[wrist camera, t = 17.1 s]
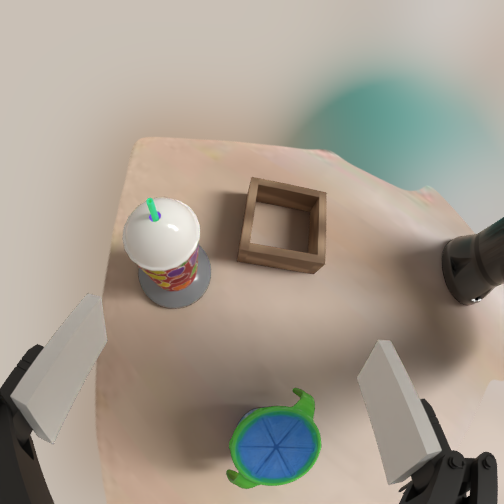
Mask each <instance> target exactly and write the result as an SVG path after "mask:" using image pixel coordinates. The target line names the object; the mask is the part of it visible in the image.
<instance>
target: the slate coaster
mask: <svg viewBox="0 0 504 504" xmlns="http://www.w3.org/2000/svg"><path fill="white" fill-rule="evenodd" d="M210 278H211V266H210V261H209V258H208V256H207V254H206V253H205V251H204V250H203V249H202V247H201V246H199V249H198V265H197V273H196V277H195V279H194V280H193V282H192V283H191V284H190V285H189V286H188V287H186V288H185V289H182V290H180V291H167V290H164V289H162V288H161V287H159V286H158V285H157V284H156V283H155V282H154V281H153V280H152V279H151V278H150V277H149V276H148V275H147V274H146V273H145V272H144V271H143V270H142V269H141V268H140V267H139V281H140V284H141V287H142V289H143V291H144V292H145V294H146V295H147V296H148V297H149V298H150V299H151V300H152V301H153V302H155V303H156V304H158V305H160V306H162V307H166V308H171V309H178V308H184V307H187V306H189V305H192V304H193V303H195V302H196V301H198V300H199V299H200V298H201V297H202V296H203V294H204V293H205V292H206V290H207V288H208V286H209V283H210Z"/></svg>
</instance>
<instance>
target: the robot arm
mask: <svg viewBox="0 0 504 504" xmlns="http://www.w3.org/2000/svg"><path fill="white" fill-rule="evenodd" d="M442 268H443V274H444V278H445V281H446V283H447V286H448V288H449V290H450V292H451V293H452V295H453V296H454V297H455V298H456V299H457V300H458V301H459V302H460V303H462V304H464V305H472V304H474V303H477V302H479V301H481V300H482V299H483V298H484V297H485V296H486V295H488V294H489V293H490V292H491V291H492V290H493V289H494V288H495V287H496V286H498V285H501V284H504V217H503V218H502V219H500V220H499V221H497V222H495V223H494V224H492V225H491V226H489V227H487V228H486V229H484V230H483V231H481V232H480V233H478V234H474V235H467V236H460V237H457V238H455V239H453V240H452V241H450V242H449V243H448V244H447V245H446V246H445V248H444V251H443V256H442ZM107 341H108V340H107V334H106V327H105V321H104V314H103V306H102V297H101V296H97V295H93V294H89V293H87V295H86V296H85V297H84V298H83V299H82V300H81V302H80V303H79V304H78V305H77V306H76V308H75V309H74V310H73V311H72V312H71V314H70V315H69V316H68V317H67V319H66V320H65V321H64V322H63V324H62V325H61V326H60V327H59V329H58V330H57V331H56V333H55V334H54V335H53V336H52V338H51V339H50V340H49V342H48V343H47V344H46V346H45V347H43V346H41V345H38V344H37V345H35V346H34V347H32V348H31V349H29V350H28V351H27V352H26V354H25V355H24V356H23V357H22V360H20V361H19V363H18V364H17V367H15V368H14V370H13V371H12V372H11V374H10V375H9V377H8V378H7V379H6V381H5V382H4V384H3V385H2V387H1V388H0V504H54V502H53V499H52V497H51V495H50V492H49V490H48V487H47V484H46V482H45V479H44V477H43V473H42V471H41V468H40V464H39V461H38V458H37V455H36V451H35V448H34V444H33V440H32V438H31V436H30V434H31V432H32V430H34V432H35V433H36V435H37V436H38V437H40V438H41V439H43V440H45V441H47V442H49V443H51V444H54V442H55V440H56V437H57V435H58V433H59V431H60V429H61V427H62V425H63V423H64V421H65V419H66V417H67V415H68V412H69V411H70V409H71V407H72V405H73V403H74V401H75V399H76V397H77V395H78V393H79V391H80V389H81V387H82V385H83V384H84V382H85V380H86V378H87V376H88V374H89V373H90V371H91V369H92V367H93V365H94V364H95V362H96V360H97V358H98V357H99V355H100V353H101V351H102V350H103V348H104V346H105V344H106V343H107ZM357 380H358V383H359V386H360V389H361V392H362V395H363V399H364V402H365V405H366V408H367V411H368V414H369V418H370V421H371V424H372V428H373V431H374V434H375V438H376V441H377V445H378V448H379V452H380V455H381V459H382V463H383V467H384V470H385V474H386V478H387V482H388V485H390V484H395V483H399V482H403V481H404V480H406V479H407V478H408V477H410V476H411V478H412V481H410V482H409V483H408V484H406V485H405V486H403V487H402V488H401V489H400V490H399V492H401V491H403V490H404V489H406V490H405V492H404V493H403V494H404V495H403V497H402V499H401V501H400V503H399V504H497V495H498V494H497V491H498V485H497V484H498V483H497V463H496V459H495V457H494V456H493V455H492V454H491V453H489V452H483V453H482V454H480V455H479V456H478V457H477V458H464V457H463V455H462V454H461V453H459V452H458V451H454V450H453V451H452V450H451V449H450V447H449V444H448V442H447V439H446V437H445V435H444V433H443V430H442V428H441V426H440V424H439V421H438V419H437V417H435V416H436V415H435V413H434V410H433V408H432V406H431V405H430V404H429V403H428V402H427V401H426V400H425V399H419V396H418V394H417V392H416V390H415V388H414V386H413V384H412V382H411V380H410V378H409V375H408V373H407V371H406V369H405V367H404V365H403V363H402V361H401V359H400V358H399V356H398V354H397V352H396V350H395V348H394V346H393V344H392V342H391V340H378V341H377V342H376V344H375V346H374V348H373V350H372V352H371V354H370V355H369V357H368V359H367V361H366V363H365V364H364V366H363V368H362V370H361V371H360V373H359V375H358V376H357ZM469 490H470V496H468V497H467V496H466V492H468V491H469Z"/></svg>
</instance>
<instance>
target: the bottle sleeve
mask: <svg viewBox="0 0 504 504" xmlns="http://www.w3.org/2000/svg"><path fill="white" fill-rule="evenodd" d="M256 201H257V202H263V203H268V204H273V205H278V206H283V207H289V208H294V209H298V210H303V211H308V212H310V224H309V244H308V253H304V252H299V251H293V250H287V249H282V248H276V247H270V246H265V245H259V244H253V243H250V238H251V231H252V224H253V217H254V210H255V203H256ZM325 253H326V192H321V191H317V190H313V189H308V188H304V187H299V186H294V185H289V184H285V183H280V182H275V181H270V180H265V179H259V178H254V177H252V178H251V182H250V186H249V190H248V195H247V201H246V207H245V213H244V219H243V226H242V232H241V238H240V244H239V251H238V257H237V261H239V262H244V263H250V264H256V265H262V266H268V267H274V268H280V269H286V270H292V271H299V272H305V273H311V274H314V273H315V272H317V271H318V270H319V269H320V268H321V267H322V266H323V265H324V264H325Z"/></svg>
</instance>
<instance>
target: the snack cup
mask: <svg viewBox="0 0 504 504" xmlns="http://www.w3.org/2000/svg"><path fill="white" fill-rule="evenodd" d="M292 391H293V392H294V393H295V394H296V395H298V396H299V397H301V398H300V400H299V401H298V402H297V403H296V404H295V405H294V406H292V407H286V406H271V407H262V408H256V409H253V410H251V411H249V412H248V413H246V414H245V415H244V416H243V417H242V419H241V420H240V421H239V423H238V426H237V428H236V429H235V431H234V433H233V436H232V438H231V440H230V442H229V449H230V451H231V457H232V460H233V463H234V465H235V467H236V468H237V470H238V471H239V473H237V472H235V471H233V470H227V472H226V475H227V477H228V479H229V481H230V482H232V483H233V484H235V485H237V486H239V487H241V488H244V489H249V488H253V487H255V486H257V485H268V486H277V485H283V484H287V483H290V482H293V481H295V480H297V479H298V478H300V477H302V476H303V475H304V474H306V473H307V472H308V471H309V470H310V469H311V468H312V466H313V465H314V464H315V462H316V460H317V458H318V456H319V453H320V450H321V437H320V433H319V430H318V428H317V426H316V424H315V423H314V421H313V416H314V410H315V402H314V399H313V397H312V396H311V395H309V394H307V393H305V392H304V391H303V390H301V389H298V388H294V389H293V390H292Z"/></svg>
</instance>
